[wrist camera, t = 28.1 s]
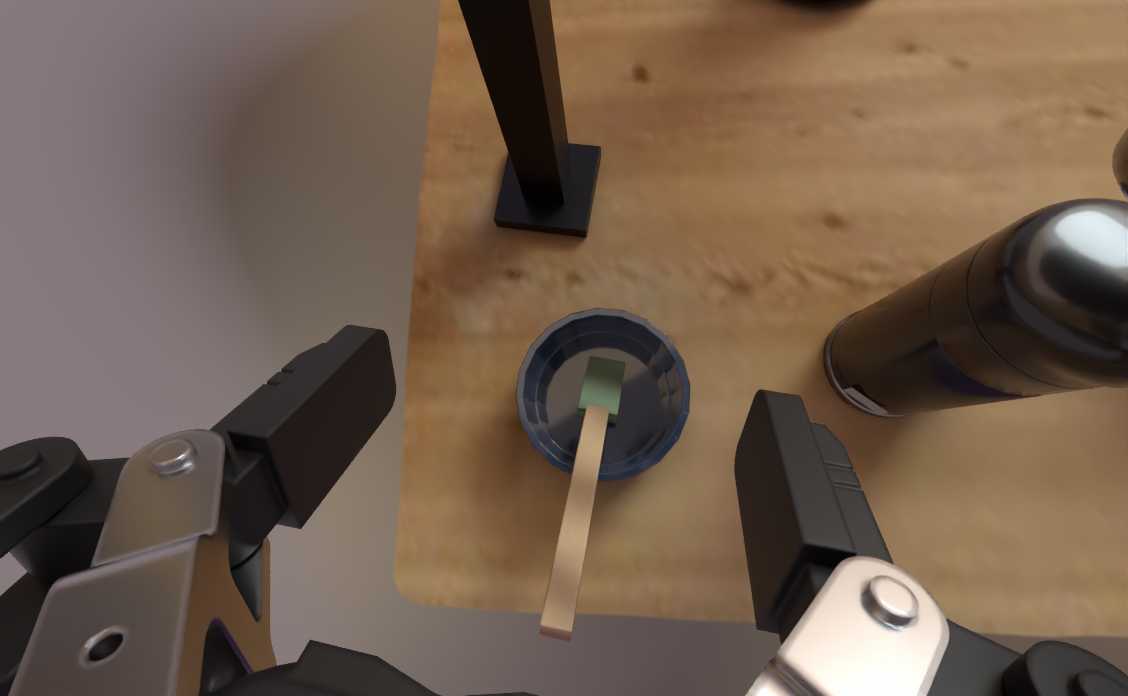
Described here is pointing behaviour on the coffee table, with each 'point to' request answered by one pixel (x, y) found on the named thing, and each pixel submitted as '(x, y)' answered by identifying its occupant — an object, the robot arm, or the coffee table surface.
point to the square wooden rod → (581, 494)
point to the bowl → (646, 399)
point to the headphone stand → (531, 119)
